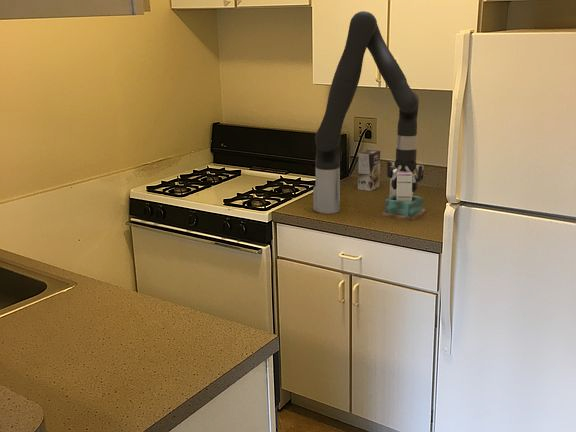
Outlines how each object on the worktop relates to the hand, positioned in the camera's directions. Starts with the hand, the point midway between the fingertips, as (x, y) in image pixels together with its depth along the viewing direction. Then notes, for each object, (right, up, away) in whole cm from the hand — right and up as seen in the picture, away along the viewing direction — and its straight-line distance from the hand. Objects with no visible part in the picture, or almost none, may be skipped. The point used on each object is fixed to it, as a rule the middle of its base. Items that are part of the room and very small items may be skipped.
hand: (404, 190), depth 240 cm
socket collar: (0, -9, +3) cm, 9 cm away
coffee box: (-9, +2, +39) cm, 40 cm away
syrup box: (0, -7, +2) cm, 7 cm away
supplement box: (+2, -4, +20) cm, 20 cm away
